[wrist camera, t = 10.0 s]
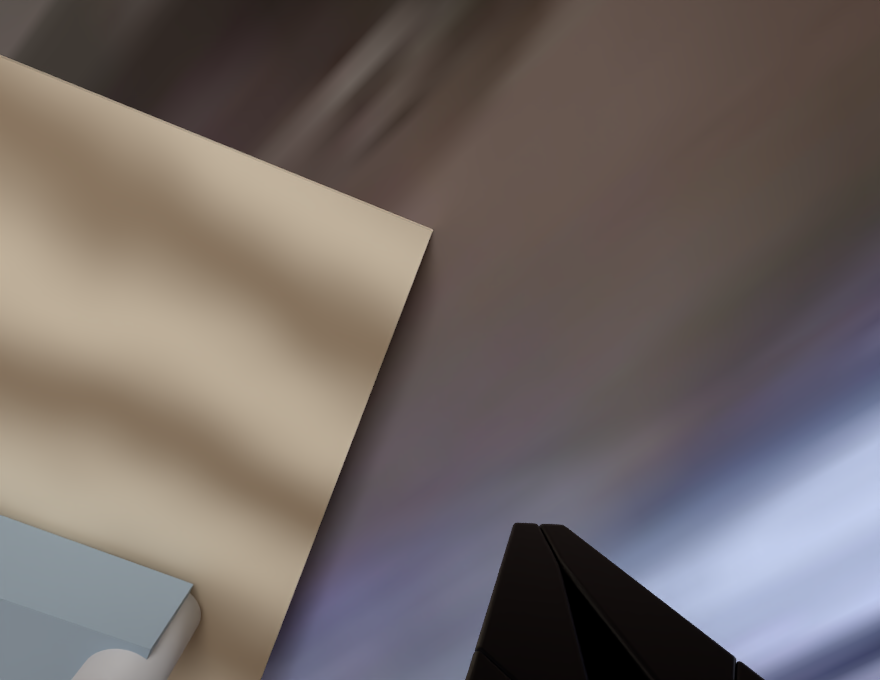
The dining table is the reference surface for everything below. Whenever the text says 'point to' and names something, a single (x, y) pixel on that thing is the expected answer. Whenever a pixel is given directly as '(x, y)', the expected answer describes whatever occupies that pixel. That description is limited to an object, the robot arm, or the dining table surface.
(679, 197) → the dining table surface
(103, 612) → the hinged leg
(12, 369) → the stool seat
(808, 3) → the dining table surface
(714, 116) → the dining table surface
